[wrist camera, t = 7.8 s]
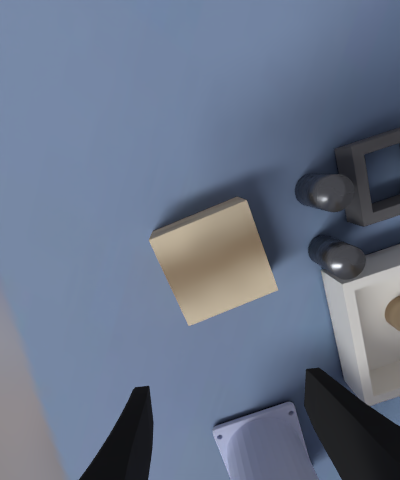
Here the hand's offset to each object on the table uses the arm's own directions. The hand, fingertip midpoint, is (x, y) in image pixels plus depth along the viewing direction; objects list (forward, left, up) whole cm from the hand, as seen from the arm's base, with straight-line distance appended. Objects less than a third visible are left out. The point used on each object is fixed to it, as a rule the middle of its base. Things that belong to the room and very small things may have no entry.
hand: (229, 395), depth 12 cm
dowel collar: (+5, -16, -10) cm, 19 cm away
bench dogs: (+3, -10, -10) cm, 15 cm away
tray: (-7, -16, -10) cm, 20 cm away
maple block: (+3, -2, -11) cm, 11 cm away
